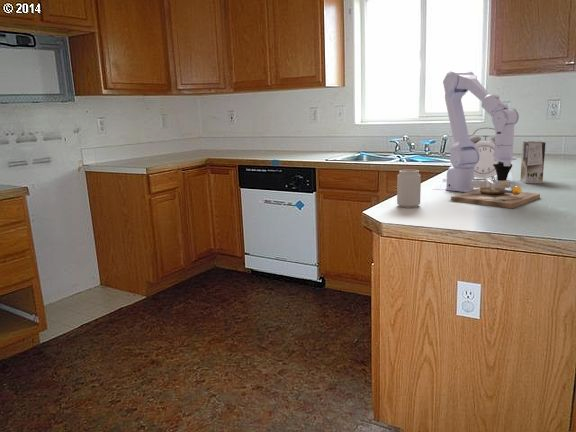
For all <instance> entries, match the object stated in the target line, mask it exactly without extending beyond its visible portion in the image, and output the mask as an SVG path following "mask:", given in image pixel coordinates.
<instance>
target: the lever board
mask: <svg viewBox="0 0 576 432" xmlns="http://www.w3.org/2000/svg"><path fill="white" fill-rule="evenodd" d="M540 198H541V193H537V192H527V191H521V193H520V194H519V195H514V194H513V193H512V194H511V193H504V194H484V193H481V192H480V188H478V189H475V190H472V191H468V192H461V193H458V194H454V195H452V196H450V201H451V202H457V203H465V204H472V205H473V204H474V205H481V206H489V207H497V208H504V207H505V208H507V209H512V208H513V209H515V208H518V207H520V206H522V205H525V204H527V203H531V202H533V201H536V200H538V199H540Z"/></svg>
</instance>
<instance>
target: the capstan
mask: <svg viewBox="0 0 576 432" xmlns="http://www.w3.org/2000/svg"><path fill="white" fill-rule="evenodd" d="M471 187H472V188H480V192H481V193H484V194H504V193H511V194H512V193H513V194H514V195H519V194H520V193H521V192H522V188H521V187H520V186H518V185H516V186H513V187H512V188H511V189H509V188H510V179H509V180H508V179H507V180H497V179H496V180H493V179H492V178H491V177H489V178H485V179H484V180H483V179H481V180H479V179H477V180H476V179H474V180H472V183H471ZM507 188H508V189H509V190H508V189H507Z"/></svg>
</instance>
